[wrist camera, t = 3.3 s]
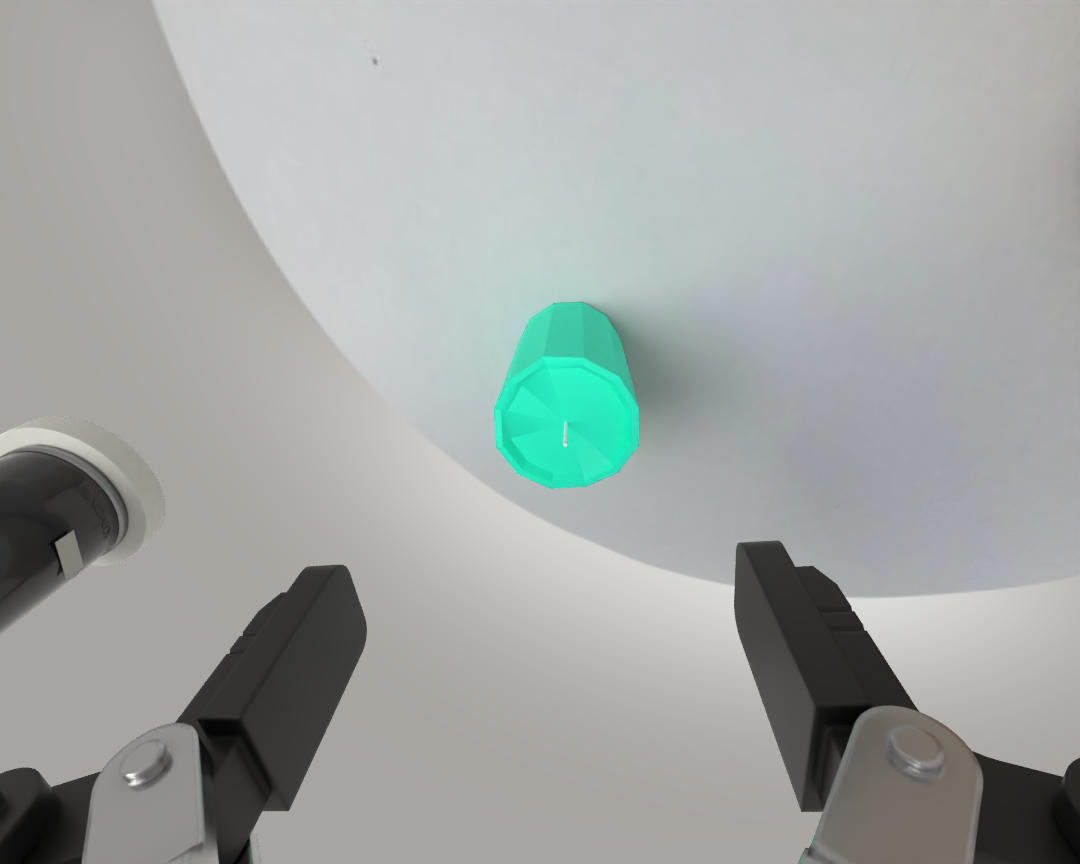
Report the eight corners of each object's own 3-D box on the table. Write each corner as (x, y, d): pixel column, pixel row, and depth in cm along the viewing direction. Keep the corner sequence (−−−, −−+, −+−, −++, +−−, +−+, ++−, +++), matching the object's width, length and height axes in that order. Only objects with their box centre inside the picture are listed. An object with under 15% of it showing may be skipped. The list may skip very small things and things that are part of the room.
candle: (634, 313, 30) (666, 389, 19) (606, 410, 32) (620, 525, 21) (529, 290, 30) (500, 352, 19) (509, 389, 32) (475, 494, 21)
